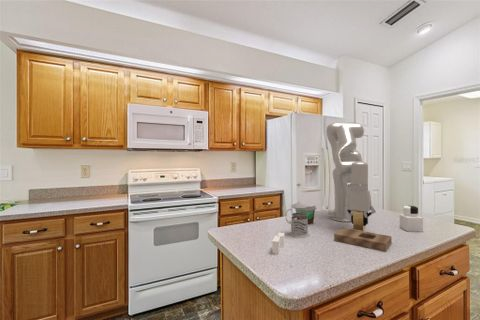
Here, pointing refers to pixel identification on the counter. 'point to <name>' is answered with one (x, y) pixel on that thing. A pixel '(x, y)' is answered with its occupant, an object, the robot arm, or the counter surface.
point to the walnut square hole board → (363, 239)
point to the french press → (299, 221)
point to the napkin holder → (278, 243)
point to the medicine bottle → (411, 219)
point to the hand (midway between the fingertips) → (359, 223)
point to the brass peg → (358, 220)
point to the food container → (307, 213)
